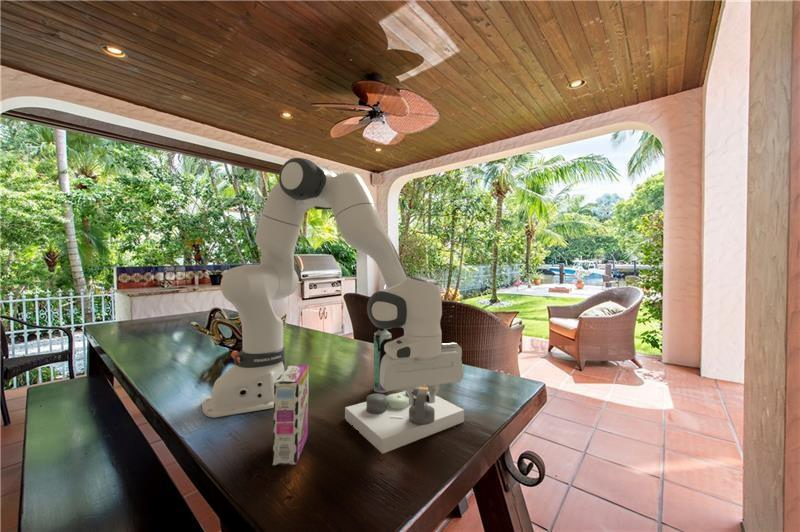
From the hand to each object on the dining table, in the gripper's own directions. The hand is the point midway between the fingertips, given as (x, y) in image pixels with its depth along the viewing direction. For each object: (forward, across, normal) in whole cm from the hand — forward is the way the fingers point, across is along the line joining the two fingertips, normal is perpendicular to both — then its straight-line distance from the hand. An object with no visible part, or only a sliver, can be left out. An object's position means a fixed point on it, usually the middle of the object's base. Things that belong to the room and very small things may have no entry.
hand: (421, 403), depth 76 cm
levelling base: (+7, +2, -6) cm, 9 cm away
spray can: (+7, +2, -27) cm, 28 cm away
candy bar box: (+7, +29, -2) cm, 30 cm away
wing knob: (+4, 0, +1) cm, 4 cm away
